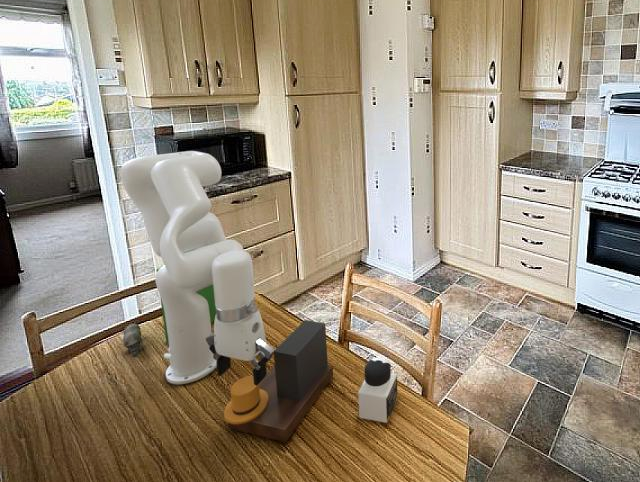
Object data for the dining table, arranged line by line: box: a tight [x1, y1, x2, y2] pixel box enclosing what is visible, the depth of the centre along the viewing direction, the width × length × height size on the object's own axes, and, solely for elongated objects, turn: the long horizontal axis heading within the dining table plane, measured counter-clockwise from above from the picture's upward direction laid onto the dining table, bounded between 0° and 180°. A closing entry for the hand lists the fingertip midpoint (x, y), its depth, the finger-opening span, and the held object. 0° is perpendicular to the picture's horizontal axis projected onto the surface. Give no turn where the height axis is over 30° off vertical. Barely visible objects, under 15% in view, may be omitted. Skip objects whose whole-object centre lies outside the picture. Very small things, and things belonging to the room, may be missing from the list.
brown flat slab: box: [227, 364, 334, 444], centre depth 91 cm, size 15×19×4 cm
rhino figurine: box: [122, 323, 143, 358], centre depth 108 cm, size 4×14×6 cm, turn 42°
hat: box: [223, 375, 269, 424], centre depth 85 cm, size 9×9×6 cm
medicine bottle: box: [357, 356, 399, 424], centre depth 89 cm, size 7×7×12 cm
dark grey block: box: [273, 319, 329, 401], centre depth 92 cm, size 6×12×12 cm, turn 166°
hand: (242, 375), depth 85 cm, fingers open, 9 cm apart
